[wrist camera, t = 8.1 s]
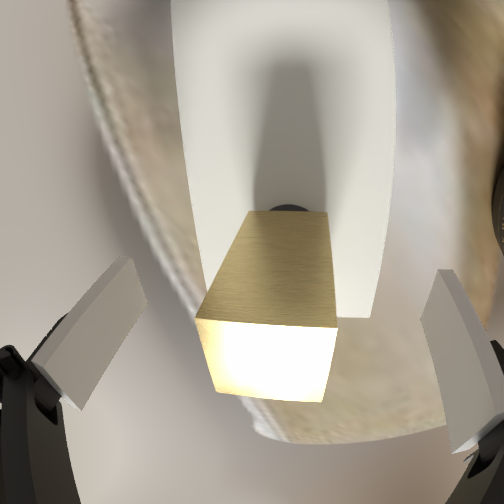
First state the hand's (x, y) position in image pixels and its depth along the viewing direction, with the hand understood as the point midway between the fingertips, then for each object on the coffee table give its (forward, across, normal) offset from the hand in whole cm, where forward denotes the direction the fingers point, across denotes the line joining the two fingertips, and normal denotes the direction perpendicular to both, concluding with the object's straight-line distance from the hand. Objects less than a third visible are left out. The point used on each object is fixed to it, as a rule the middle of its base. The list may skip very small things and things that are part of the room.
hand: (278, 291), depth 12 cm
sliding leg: (+5, 0, 0) cm, 5 cm away
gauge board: (+7, 0, +8) cm, 10 cm away
